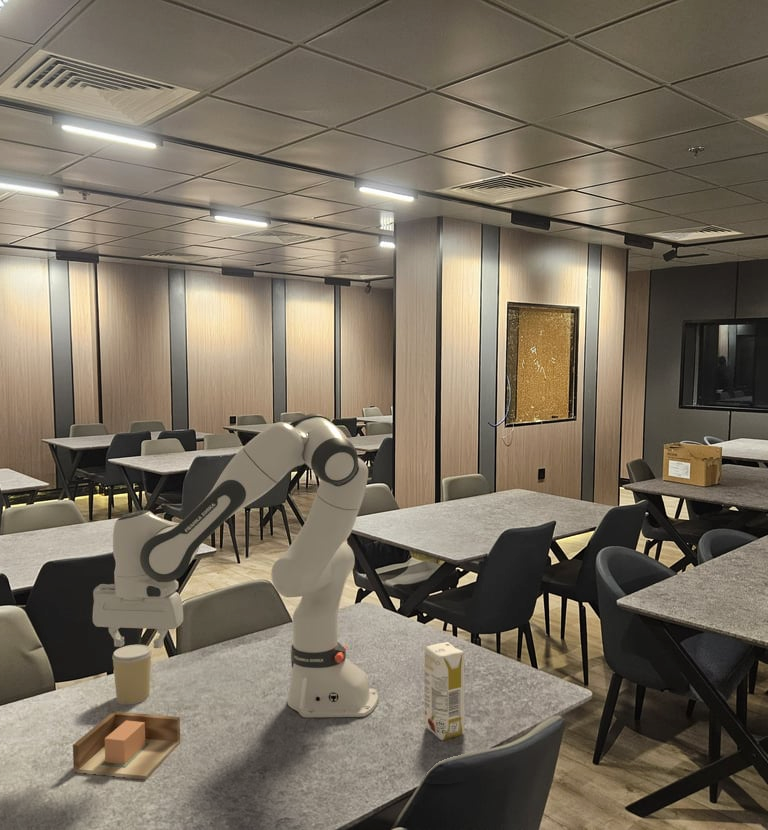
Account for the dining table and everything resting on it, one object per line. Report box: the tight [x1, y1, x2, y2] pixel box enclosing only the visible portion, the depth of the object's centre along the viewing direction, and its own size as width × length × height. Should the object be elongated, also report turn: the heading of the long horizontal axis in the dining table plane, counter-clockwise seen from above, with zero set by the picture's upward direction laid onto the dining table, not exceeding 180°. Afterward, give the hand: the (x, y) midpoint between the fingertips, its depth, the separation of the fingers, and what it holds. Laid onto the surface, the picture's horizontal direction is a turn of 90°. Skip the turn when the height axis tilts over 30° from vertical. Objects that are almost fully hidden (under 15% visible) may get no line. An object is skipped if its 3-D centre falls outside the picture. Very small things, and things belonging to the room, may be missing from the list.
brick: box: [105, 721, 145, 764], centre depth 153 cm, size 8×4×5 cm, turn 168°
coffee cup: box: [111, 644, 153, 705], centre depth 182 cm, size 9×9×12 cm
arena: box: [72, 710, 181, 781], centre depth 153 cm, size 16×15×6 cm
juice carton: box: [424, 641, 466, 741], centre depth 164 cm, size 8×9×19 cm
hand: (139, 646), depth 160 cm, fingers open, 8 cm apart
